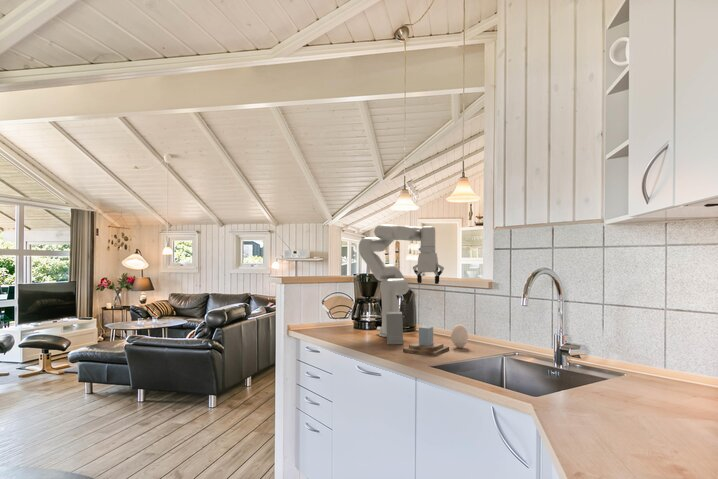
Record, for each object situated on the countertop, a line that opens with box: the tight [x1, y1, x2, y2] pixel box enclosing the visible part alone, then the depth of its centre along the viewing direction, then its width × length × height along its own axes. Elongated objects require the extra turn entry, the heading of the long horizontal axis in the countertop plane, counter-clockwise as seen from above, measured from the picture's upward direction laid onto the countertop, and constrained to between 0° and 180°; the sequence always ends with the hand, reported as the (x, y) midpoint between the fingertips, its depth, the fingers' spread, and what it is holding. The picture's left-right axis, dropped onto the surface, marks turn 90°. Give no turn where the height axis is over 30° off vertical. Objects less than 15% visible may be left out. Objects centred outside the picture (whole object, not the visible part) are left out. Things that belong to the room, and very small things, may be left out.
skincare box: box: [386, 311, 404, 345], centre depth 224 cm, size 8×7×16 cm
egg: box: [450, 323, 469, 349], centre depth 214 cm, size 8×8×11 cm
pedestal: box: [402, 341, 450, 357], centre depth 206 cm, size 16×16×3 cm
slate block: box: [418, 325, 434, 346], centre depth 206 cm, size 5×5×8 cm
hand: (428, 283), depth 227 cm, fingers open, 9 cm apart
